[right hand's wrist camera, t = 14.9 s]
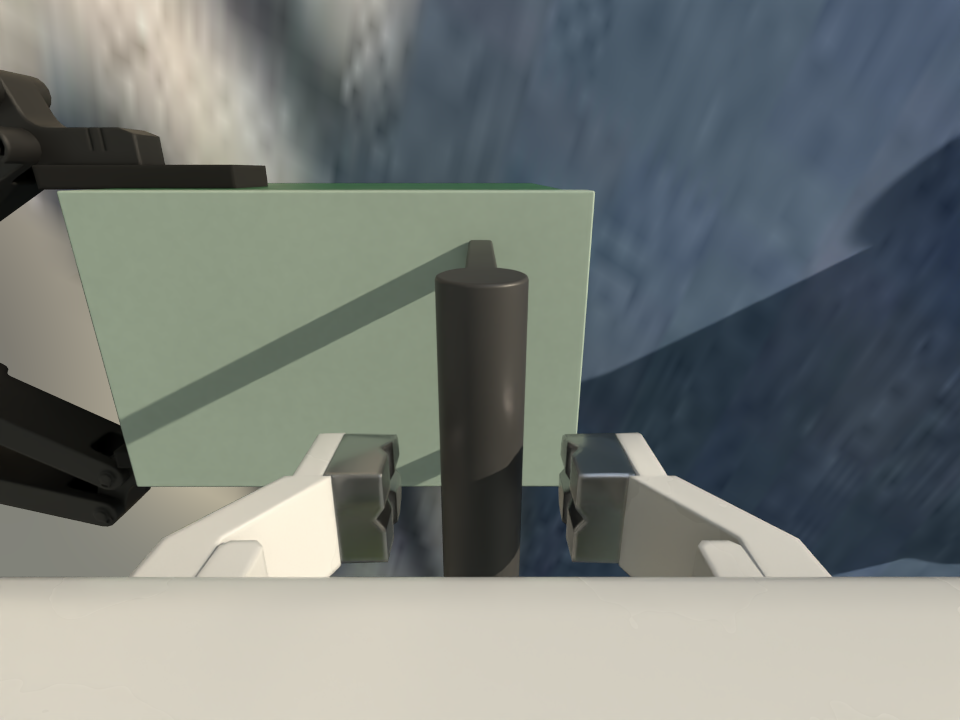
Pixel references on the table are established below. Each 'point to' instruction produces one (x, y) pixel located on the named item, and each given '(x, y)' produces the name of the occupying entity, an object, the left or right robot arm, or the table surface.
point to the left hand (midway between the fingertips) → (272, 322)
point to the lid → (345, 337)
